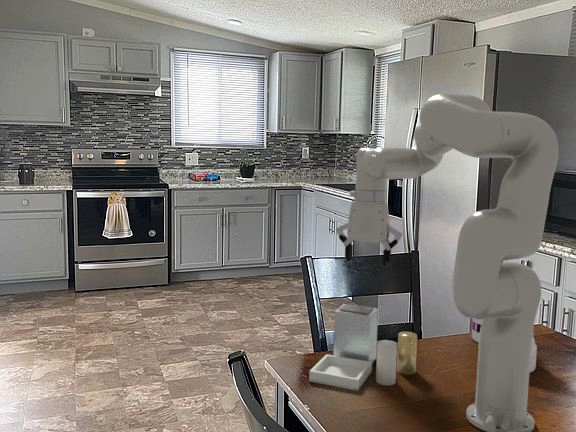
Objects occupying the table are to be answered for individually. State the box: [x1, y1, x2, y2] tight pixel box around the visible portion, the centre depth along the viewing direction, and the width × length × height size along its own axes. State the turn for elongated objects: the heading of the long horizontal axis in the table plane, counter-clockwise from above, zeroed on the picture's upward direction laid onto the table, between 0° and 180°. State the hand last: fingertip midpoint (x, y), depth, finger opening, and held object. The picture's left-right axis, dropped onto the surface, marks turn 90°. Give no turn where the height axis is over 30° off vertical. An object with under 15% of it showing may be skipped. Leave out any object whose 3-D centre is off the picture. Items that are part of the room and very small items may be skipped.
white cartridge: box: [375, 339, 398, 386], centre depth 131 cm, size 4×4×9 cm
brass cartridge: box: [396, 331, 418, 376], centre depth 137 cm, size 4×4×9 cm
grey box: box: [333, 303, 379, 364], centre depth 143 cm, size 7×9×13 cm
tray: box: [308, 353, 373, 392], centre depth 133 cm, size 11×11×2 cm
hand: (367, 262), depth 149 cm, fingers open, 9 cm apart
